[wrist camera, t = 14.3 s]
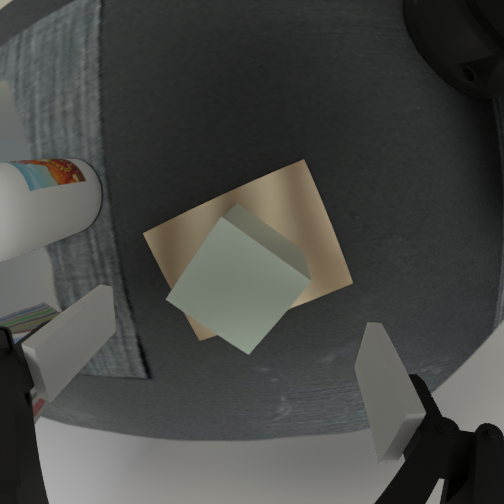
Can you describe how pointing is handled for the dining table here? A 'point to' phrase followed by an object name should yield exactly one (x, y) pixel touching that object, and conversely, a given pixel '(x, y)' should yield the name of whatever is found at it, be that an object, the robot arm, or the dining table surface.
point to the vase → (21, 327)
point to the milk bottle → (45, 203)
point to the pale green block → (241, 279)
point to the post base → (272, 213)
